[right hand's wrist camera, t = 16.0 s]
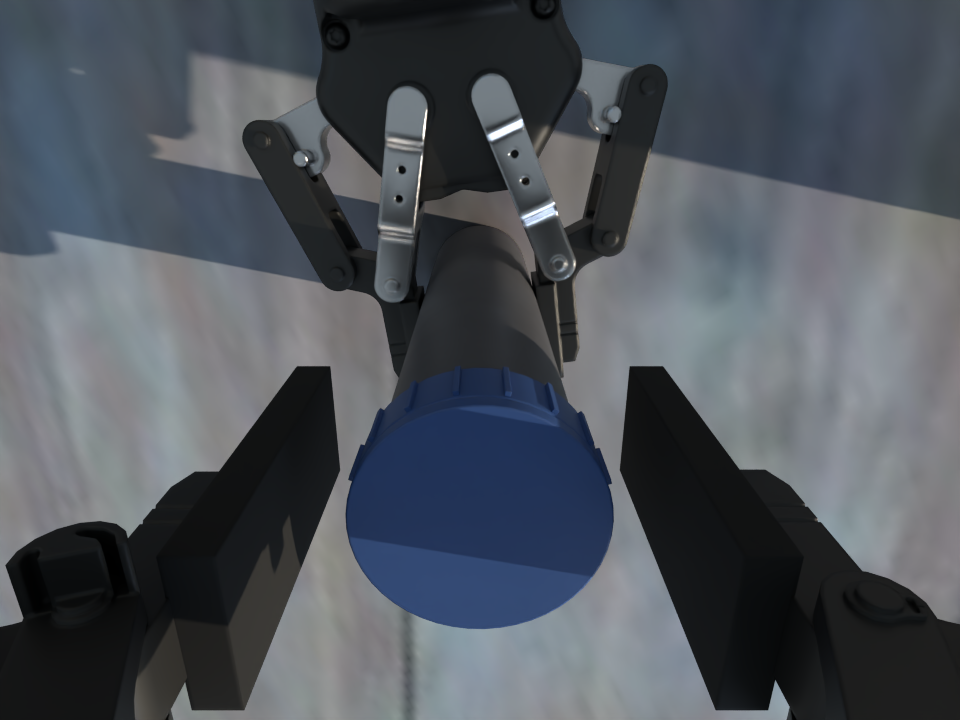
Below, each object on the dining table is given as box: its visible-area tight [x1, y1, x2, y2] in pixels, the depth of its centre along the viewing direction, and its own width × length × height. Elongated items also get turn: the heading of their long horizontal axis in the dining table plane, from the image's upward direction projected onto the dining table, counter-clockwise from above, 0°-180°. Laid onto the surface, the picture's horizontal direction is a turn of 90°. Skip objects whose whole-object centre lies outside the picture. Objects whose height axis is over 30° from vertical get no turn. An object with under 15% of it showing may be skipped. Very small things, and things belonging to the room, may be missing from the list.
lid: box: [346, 366, 614, 629], centre depth 11 cm, size 5×5×2 cm
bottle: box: [392, 225, 568, 402], centre depth 20 cm, size 4×4×19 cm
